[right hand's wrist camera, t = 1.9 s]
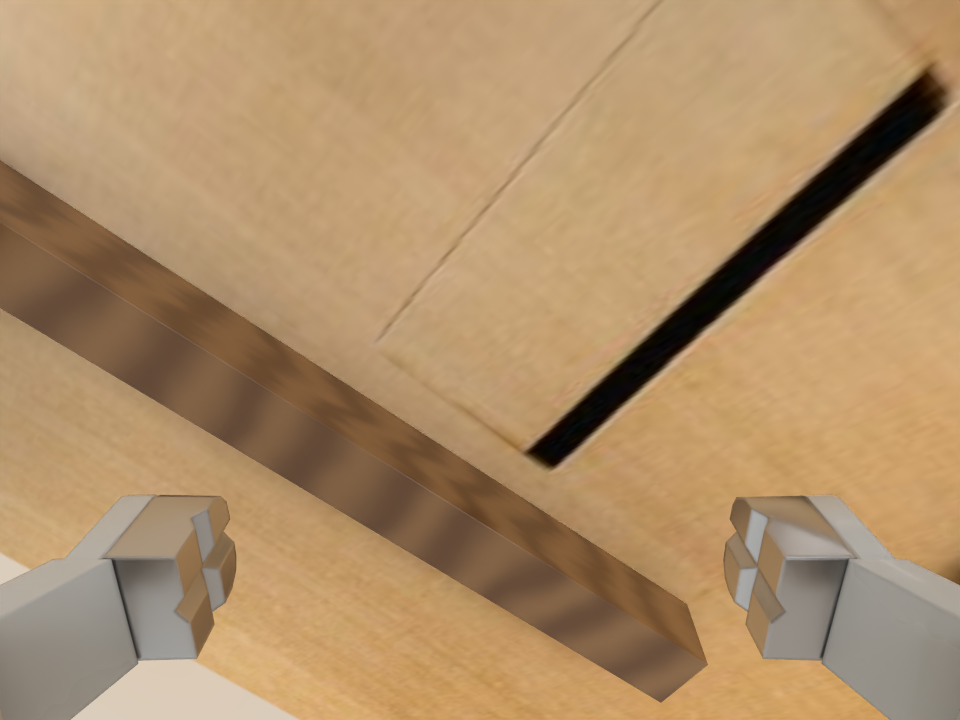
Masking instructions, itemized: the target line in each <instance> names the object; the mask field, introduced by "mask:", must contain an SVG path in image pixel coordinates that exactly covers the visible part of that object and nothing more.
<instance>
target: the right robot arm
mask: <svg viewBox="0 0 960 720" xmlns="http://www.w3.org/2000/svg"><path fill="white" fill-rule="evenodd" d="M229 520H230V516H229V511H228V507H227V502H226V501H225V500H224V499H223V498H222V497H221V496H187V495H159V496H158V495H127V496H124V497H121V498H120V499H119V500H118V501H117V502H116V503H115V504H114V505H113V506H112V507H111V508H110V510H109V511H108V512H107V513H106V514H105V515H104V516H103V517H102V518H101V519H100V520H99V522H98V523H97V524H96V525H95V526H94V527H93V528H92V529H91V530H90V531H89V533H88V534H87V535H86V536H85V537H84V538H83V539H82V540H81V541H80V542H79V543H78V545H77V546H76V547H75V548H74V549H73V550H72V551H71V552H70V553H69V554H68V556H67V557H66V558H65V559H53V560H51V561H49V562H47V563H45V564H43V565H41V566H39V567H36V568H34V569H32V570H30V571H28V572H26V573H24V574H22V575H20V576H18V577H16V578H14V579H12V580H10V581H8V582H6V583H4V584H2V585H0V720H71V719H72V718H73V717H74V716H75V715H77V714H78V713H79V712H80V711H81V710H83V709H84V708H85V707H86V706H87V705H89V704H90V703H91V702H92V701H94V700H95V699H96V698H97V697H98V696H100V695H101V694H102V693H103V692H104V691H106V690H107V689H108V688H109V687H111V686H112V685H113V684H114V683H115V682H117V681H118V680H119V679H120V678H121V677H123V676H124V675H125V674H126V673H128V672H129V671H130V670H131V669H132V668H134V667H135V666H136V665H137V664H138V661H139V660H174V659H197V657H198V655H199V654H200V652H201V650H202V648H203V646H204V644H205V642H206V640H207V638H208V636H209V634H210V632H211V630H212V628H213V626H214V619H213V614H212V612H213V611H214V610H216V609H217V608H218V607H220V606H221V605H223V604H224V603H226V600H227V598H228V596H229V594H230V592H231V590H232V587H233V582H234V578H235V573H236V551H235V545H234V542H233V541H232V540H231V539H230V538H229V537H228V536H227V535H226V534H225V533H224V532H223V531H224V529H225V527H226V525H227V524H228V522H229ZM730 520H731V522H732V524H733V525H734V527H735V529H736V531H737V532H736V533H735V534H734V535H733V536H732V537H731V538H730V539H729V540H728V541H727V542H726V545H725V552H724V560H723V561H724V572H725V580H726V583H727V586H728V590H729V592H730V594H731V596H732V598H733V600H734V603H736V604H737V605H739V606H740V607H742V608H743V609H744V610H746V611H747V612H748V614H747V619H746V626H747V628H748V630H749V632H750V634H751V636H752V638H753V640H754V642H755V644H756V646H757V648H758V650H759V651H760V653H761V655H762V657H763V659H785V660H821V661H822V664H823V665H824V666H826V667H827V668H828V669H829V670H830V671H832V672H833V673H834V674H835V675H836V676H838V677H839V678H840V679H841V680H842V681H844V682H845V683H846V684H847V685H849V686H850V687H851V688H852V689H853V690H855V691H856V692H857V693H858V694H859V695H861V696H862V697H863V698H864V699H865V700H867V701H868V702H869V703H870V704H871V705H873V706H874V707H875V708H876V709H878V710H879V711H880V712H881V713H882V714H884V715H885V716H886V717H887V718H888V719H890V720H960V585H958V584H956V583H954V582H952V581H950V580H948V579H946V578H944V577H942V576H940V575H938V574H936V573H934V572H932V571H930V570H928V569H926V568H923V567H921V566H919V565H917V564H915V563H913V562H911V561H909V560H907V559H895V558H894V557H893V556H892V554H891V553H890V552H889V551H888V550H887V549H886V548H885V547H884V546H883V545H882V543H881V542H880V541H879V540H878V539H877V538H876V537H875V536H874V535H873V534H872V533H871V531H870V530H869V529H868V528H867V527H866V526H865V525H864V524H863V523H862V522H861V520H860V519H859V518H858V517H857V516H856V515H855V514H854V513H853V512H852V511H851V509H850V508H849V507H848V506H847V505H846V504H845V503H844V502H843V501H842V500H841V499H840V498H839V497H837V496H834V495H832V494H827V495H800V496H770V497H736V499H735V501H734V503H733V505H732V510H731V516H730Z"/></svg>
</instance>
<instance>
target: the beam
mask: <svg viewBox="0 0 960 720" xmlns="http://www.w3.org/2000/svg"><path fill="white" fill-rule="evenodd" d="M0 308H1V309H3V310H5V311H6V312H8V313H10V314H11V315H13V316H15V317H16V318H18V319H20V320H21V321H23V322H25V323H26V324H28V325H30V326H31V327H33V328H35V329H36V330H38V331H40V332H41V333H43V334H45V335H47V336H48V337H50V338H52V339H53V340H55V341H57V342H58V343H60V344H62V345H63V346H65V347H67V348H68V349H70V350H72V351H73V352H75V353H77V354H78V355H80V356H82V357H83V358H85V359H87V360H88V361H90V362H92V363H93V364H95V365H97V366H98V367H100V368H102V369H103V370H105V371H107V372H108V373H110V374H112V375H113V376H115V377H117V378H118V379H120V380H122V381H124V382H125V383H127V384H129V385H130V386H132V387H134V388H135V389H137V390H139V391H140V392H142V393H144V394H145V395H147V396H149V397H150V398H152V399H154V400H155V401H157V402H159V403H160V404H162V405H164V406H165V407H167V408H169V409H170V410H172V411H174V412H175V413H177V414H179V415H180V416H182V417H184V418H185V419H187V420H189V421H190V422H192V423H194V424H195V425H197V426H199V427H201V428H202V429H204V430H206V431H207V432H209V433H211V434H212V435H214V436H216V437H217V438H219V439H221V440H222V441H224V442H226V443H227V444H229V445H231V446H232V447H234V448H236V449H237V450H239V451H241V452H242V453H244V454H246V455H247V456H249V457H251V458H252V459H254V460H256V461H257V462H259V463H261V464H262V465H264V466H266V467H267V468H269V469H271V470H272V471H274V472H276V473H278V474H279V475H281V476H283V477H284V478H286V479H288V480H289V481H291V482H293V483H294V484H296V485H298V486H299V487H301V488H303V489H304V490H306V491H308V492H309V493H311V494H313V495H314V496H316V497H318V498H319V499H321V500H323V501H324V502H326V503H328V504H329V505H331V506H333V507H334V508H336V509H338V510H339V511H341V512H343V513H344V514H346V515H348V516H349V517H351V518H353V519H354V520H356V521H358V522H360V523H361V524H363V525H365V526H366V527H368V528H370V529H371V530H373V531H375V532H376V533H378V534H380V535H381V536H383V537H385V538H386V539H388V540H390V541H391V542H393V543H395V544H396V545H398V546H400V547H401V548H403V549H405V550H406V551H408V552H410V553H411V554H413V555H415V556H416V557H418V558H420V559H421V560H423V561H425V562H426V563H428V564H430V565H431V566H433V567H435V568H437V569H438V570H440V571H442V572H443V573H445V574H447V575H448V576H450V577H452V578H453V579H455V580H457V581H458V582H460V583H462V584H463V585H465V586H467V587H468V588H470V589H472V590H473V591H475V592H477V593H478V594H480V595H482V596H483V597H485V598H487V599H488V600H490V601H492V602H493V603H495V604H497V605H498V606H500V607H502V608H503V609H505V610H507V611H508V612H510V613H512V614H514V615H515V616H517V617H519V618H520V619H522V620H524V621H525V622H527V623H529V624H530V625H532V626H534V627H535V628H537V629H539V630H540V631H542V632H544V633H545V634H547V635H549V636H550V637H552V638H554V639H555V640H557V641H559V642H560V643H562V644H564V645H565V646H567V647H569V648H570V649H572V650H574V651H575V652H577V653H579V654H580V655H582V656H584V657H585V658H587V659H589V660H591V661H592V662H594V663H596V664H597V665H599V666H601V667H602V668H604V669H606V670H607V671H609V672H611V673H612V674H614V675H616V676H617V677H619V678H621V679H622V680H624V681H626V682H627V683H629V684H631V685H632V686H634V687H636V688H637V689H639V690H641V691H642V692H644V693H646V694H647V695H649V696H651V697H652V698H654V699H656V700H657V701H659V702H662V701H664V700H665V699H666V698H667V697H669V696H670V695H671V694H672V693H674V692H675V691H676V690H677V689H678V688H680V687H681V686H682V685H683V684H685V683H686V682H687V681H688V680H690V679H691V678H692V677H693V676H695V675H696V674H697V673H698V672H700V671H701V670H702V669H703V668H704V667H706V666H707V665H708V664H707V661H706V658H705V655H704V652H703V649H702V646H701V644H700V641H699V638H698V635H697V632H696V629H695V626H694V623H693V620H692V618H691V615H690V612H689V609H688V606H687V604H685V603H684V602H682V601H681V600H679V599H678V598H676V597H675V596H673V595H671V594H670V593H668V592H667V591H665V590H664V589H662V588H661V587H659V586H658V585H656V584H654V583H653V582H651V581H650V580H648V579H647V578H645V577H644V576H642V575H641V574H639V573H637V572H636V571H634V570H633V569H631V568H630V567H628V566H627V565H625V564H624V563H622V562H620V561H619V560H617V559H616V558H614V557H613V556H611V555H610V554H608V553H606V552H605V551H603V550H602V549H600V548H599V547H597V546H596V545H594V544H593V543H591V542H589V541H588V540H586V539H585V538H583V537H582V536H580V535H579V534H577V533H576V532H574V531H572V530H571V529H569V528H568V527H566V526H565V525H563V524H562V523H560V522H559V521H557V520H555V519H554V518H552V517H551V516H549V515H548V514H546V513H545V512H543V511H541V510H540V509H538V508H537V507H535V506H534V505H532V504H531V503H529V502H528V501H526V500H524V499H523V498H521V497H520V496H518V495H517V494H515V493H514V492H512V491H511V490H509V489H507V488H506V487H504V486H503V485H501V484H500V483H498V482H497V481H495V480H494V479H492V478H490V477H489V476H487V475H486V474H484V473H483V472H481V471H480V470H478V469H477V468H475V467H473V466H472V465H470V464H469V463H467V462H466V461H464V460H463V459H461V458H459V457H458V456H456V455H455V454H453V453H452V452H450V451H449V450H447V449H446V448H444V447H442V446H441V445H439V444H438V443H436V442H435V441H433V440H432V439H430V438H429V437H427V436H425V435H424V434H422V433H421V432H419V431H418V430H416V429H415V428H413V427H412V426H410V425H408V424H407V423H405V422H404V421H402V420H401V419H399V418H398V417H396V416H394V415H393V414H391V413H390V412H388V411H387V410H385V409H384V408H382V407H381V406H379V405H377V404H376V403H374V402H373V401H371V400H370V399H368V398H367V397H365V396H364V395H362V394H360V393H359V392H357V391H356V390H354V389H353V388H351V387H350V386H348V385H347V384H345V383H343V382H342V381H340V380H339V379H337V378H336V377H334V376H333V375H331V374H329V373H328V372H326V371H325V370H323V369H322V368H320V367H319V366H317V365H316V364H314V363H312V362H311V361H309V360H308V359H306V358H305V357H303V356H302V355H300V354H299V353H297V352H295V351H294V350H292V349H291V348H289V347H288V346H286V345H285V344H283V343H282V342H280V341H278V340H277V339H275V338H274V337H272V336H271V335H269V334H268V333H266V332H264V331H263V330H261V329H260V328H258V327H257V326H255V325H254V324H252V323H251V322H249V321H247V320H246V319H244V318H243V317H241V316H240V315H238V314H237V313H235V312H234V311H232V310H230V309H229V308H227V307H226V306H224V305H223V304H221V303H220V302H218V301H217V300H215V299H213V298H212V297H210V296H209V295H207V294H206V293H204V292H203V291H201V290H199V289H198V288H196V287H195V286H193V285H192V284H190V283H189V282H187V281H186V280H184V279H182V278H181V277H179V276H178V275H176V274H175V273H173V272H172V271H170V270H169V269H167V268H165V267H164V266H162V265H161V264H159V263H158V262H156V261H155V260H153V259H152V258H150V257H148V256H147V255H145V254H144V253H142V252H141V251H139V250H138V249H136V248H134V247H133V246H131V245H130V244H128V243H127V242H125V241H124V240H122V239H121V238H119V237H117V236H116V235H114V234H113V233H111V232H110V231H108V230H107V229H105V228H104V227H102V226H100V225H99V224H97V223H96V222H94V221H93V220H91V219H90V218H88V217H87V216H85V215H83V214H82V213H80V212H79V211H77V210H76V209H74V208H73V207H71V206H69V205H68V204H66V203H65V202H63V201H62V200H60V199H59V198H57V197H56V196H54V195H52V194H51V193H49V192H48V191H46V190H45V189H43V188H42V187H40V186H39V185H37V184H35V183H34V182H32V181H31V180H29V179H28V178H26V177H25V176H23V175H22V174H20V173H18V172H17V171H15V170H14V169H12V168H11V167H9V166H8V165H6V164H4V163H3V162H1V161H0Z"/></svg>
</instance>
